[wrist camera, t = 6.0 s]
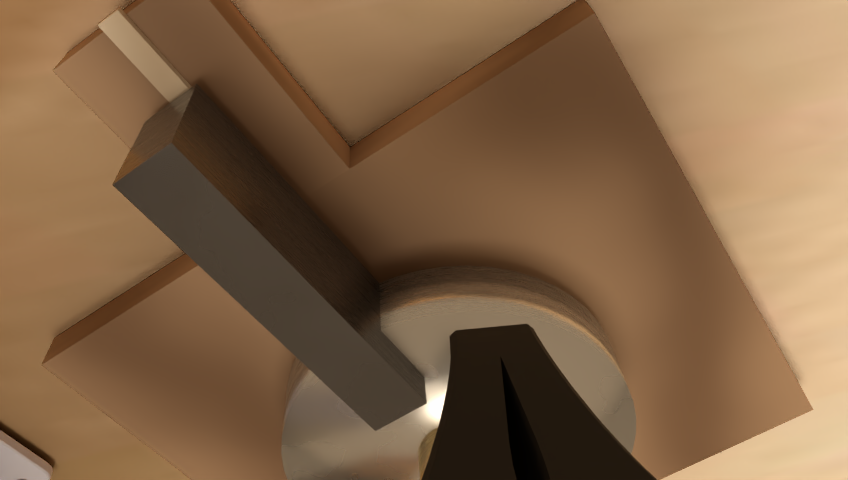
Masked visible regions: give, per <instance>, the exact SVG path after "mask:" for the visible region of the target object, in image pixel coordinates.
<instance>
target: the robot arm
mask: <svg viewBox="0 0 848 480" xmlns="http://www.w3.org/2000/svg"><path fill="white" fill-rule="evenodd" d="M449 338H450V355H451V359H450V370H449V377H448V384H447V390H446V395H445V400H444V404H443V409H442V413H441V418H440V422H439V426H438V429H437V433H436V436H435V439H434V443H433V446H432V449H431V453H430V456H429V459H428V462H427V465H426V468H425V471H424V474H423V477H422V479H421V480H657V479H656V478H655V477H654V476H653V475H652V474H651V473H650V472H649V471H647V470H646V469H645V468H644V467H643V466H642V465H641V464H640V463H639V462H638V461H637V460H636V459H635V458H634V457H633V456H632V455H631V454H630V453H629V452H628V451H627V449H626V448H625V447H624V446H623V445H622V444H621V443H620V442H619V441H618V440H617V439H616V438H615V437H614V435H613V434H612V433H611V432H610V431H609V430H608V429H607V428H606V427H605V425H604V424H603V423H602V422H601V421H600V420H599V419H598V417H597V416H596V415H595V414H594V413H593V411H592V410H591V409H590V408H589V406H588V405H587V404H586V403H585V401H584V400H583V399H582V398H581V397H580V395H579V394H578V393H577V392H576V390H575V389H574V388H573V386H572V385H571V384H570V383H569V381H568V380H567V379H566V377H565V376H564V374H563V373H562V372H561V370H560V369H559V367H558V366H557V365H556V363H555V362H554V360H553V359H552V357H551V356H550V355H549V353H548V352H547V350H546V348H545V347H544V345H543V344H542V342H541V341H540V339H539V337H538V336H537V334H536V332H535V330H534V329H533V328H532V327H531V326H530V325H528V324H517V325H507V326H496V327H485V328H474V329H464V330H456V331H454V332H453V333H452V334H451V335H450V336H449ZM52 473H53V469H52V466H51V465H50V464H48V463H47V462H46V461H45V460H43V459H42V458H40V457H39V456H37V455H36V454H34V453H33V452H32V451H30V450H29V449H27V448H26V447H24V446H23V445H21V444H20V443H18V442H17V441H16V440H14V439H13V438H11V437H10V436H8V435H7V434H5V433H4V432H3V431H1V430H0V480H50V478H51V476H52Z"/></svg>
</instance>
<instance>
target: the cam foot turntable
mask: <svg viewBox="0 0 848 480" xmlns="http://www.w3.org/2000/svg"><path fill="white" fill-rule="evenodd" d="M113 186H114V187H115V188H116V189H118V190H119V191H120V192H121V193H122V194H123V195H124V196H125V197H126V198H127V199H128V200H129V201H130V202H131V203H132V204H134V205H135V206H136V207H137V208H138V209H139V210H140V211H141V212H142V213H143V214H144V215H145V216H146V217H147V218H148V219H150V220H151V221H152V222H153V223H154V224H155V225H156V226H157V227H158V228H159V229H160V230H161V231H162V232H163V233H164V234H166V235H167V236H168V237H169V238H170V239H171V240H172V241H173V242H174V243H175V244H176V245H177V246H178V247H179V248H180V249H182V250H183V251H184V252H185V253H186V254H187V255H188V256H189V257H190V258H191V259H192V260H193V261H194V262H195V263H196V264H198V265H199V266H200V267H201V268H202V269H203V270H204V271H205V272H206V273H207V274H208V275H209V276H210V277H211V278H212V279H214V280H215V281H216V282H217V283H218V284H219V285H220V286H221V287H222V288H223V289H224V290H225V291H226V292H227V293H228V294H230V295H231V296H232V297H233V298H234V299H235V300H236V301H237V302H238V303H239V304H240V305H241V306H242V307H243V308H244V309H246V310H247V311H248V312H249V313H250V314H251V315H252V316H253V317H254V318H255V319H256V320H257V321H258V322H259V323H260V324H262V325H263V326H264V327H265V328H266V329H267V330H268V331H269V332H270V333H271V334H272V335H273V336H274V337H275V338H276V339H277V340H279V341H280V342H281V343H282V344H283V345H284V346H285V347H286V348H287V349H288V350H289V351H290V352H291V353H292V354H293V355H295V356H296V358H295V361H294V363H293V365H292V368H291V371H290V376H289V380H288V385H287V393H286V403H285V412H284V422H283V431H282V447H281V455H282V461H283V468H284V471H285V474H286V477H287V480H421V479H422V477H423V474H424V471H425V468H426V465H427V462H428V459H429V456H430V453H431V449H432V446H433V443H434V439H435V436H436V433H437V429H438V426H439V422H440V418H441V413H442V409H443V404H444V400H445V395H446V390H447V384H448V377H449V370H450V359H451V355H450V338H449V336H450V335H451V334H452V333H453V332H454V331H456V330H464V329H474V328H485V327H496V326H507V325H517V324H528V325H530V326H531V327H532V328H533V329H534V330H535V332H536V334H537V336H538V337H539V339H540V341H541V342H542V344H543V345H544V347H545V348H546V350H547V352H548V353H549V355H550V356H551V357H552V359H553V360H554V362H555V363H556V365H557V366H558V367H559V369H560V370H561V372H562V373H563V374H564V376H565V377H566V379H567V380H568V381H569V383H570V384H571V385H572V386H573V388H574V389H575V390H576V392H577V393H578V394H579V395H580V397H581V398H582V399H583V400H584V401H585V403H586V404H587V405H588V406H589V408H590V409H591V410H592V411H593V413H594V414H595V415H596V416H597V417H598V419H599V420H600V421H601V422H602V423H603V424H604V425H605V427H606V428H607V429H608V430H609V431H610V432H611V433H612V434H613V435H614V437H615V438H616V439H617V440H618V441H619V442H620V443H621V444H622V445H623V446H624V447H625V448H626V449H627V451H628V452H629V453H630V454H631V453H632V450H633V446H634V441H635V436H636V413H635V408H634V402H633V399H632V397H631V394H630V391H629V389H628V386H627V384H626V381H625V379H624V376H623V373H622V371H621V368H620V366H619V363H618V361H617V358H616V356H615V353H614V351H613V348H612V345H611V343H610V340H609V338H608V336H607V334H606V333H605V331H604V329H603V328H602V326H601V325H600V323H599V322H598V320H597V319H596V318H595V317H594V316H593V315H592V314H591V312H590V311H589V310H588V309H587V308H586V307H584V306H583V305H582V304H581V303H580V302H579V301H577V300H576V299H575V298H574V297H572V296H571V295H569V294H568V293H566V292H564V291H563V290H561V289H559V288H558V287H556V286H554V285H552V284H550V283H547V282H545V281H543V280H541V279H538V278H536V277H533V276H529V275H526V274H523V273H519V272H516V271H511V270H506V269H500V268H494V267H483V266H447V267H438V268H432V269H425V270H419V271H415V272H411V273H408V274H404V275H400V276H396V277H394V278H391V279H389V280H386V281H383V282H381V283H379V282H378V281H377V280H376V279H375V278H374V277H373V275H372V274H371V273H370V272H369V271H368V270H367V269H366V268H365V267H364V266H363V265H362V263H361V262H360V261H359V260H358V259H357V258H356V257H355V256H354V255H353V254H352V253H351V251H350V250H349V249H348V248H347V247H346V246H345V245H344V244H343V243H342V242H341V240H340V239H339V238H338V237H337V236H336V235H335V234H334V233H333V232H332V231H331V230H330V228H329V227H328V226H327V225H326V224H325V223H324V222H323V221H322V220H321V219H320V217H319V216H318V215H317V214H316V213H315V212H314V211H313V210H312V209H311V208H310V207H309V205H308V204H307V203H306V202H305V201H304V200H303V199H302V198H301V197H300V196H299V195H298V193H297V192H296V191H295V190H294V189H293V188H292V187H291V186H290V185H289V184H288V182H287V181H286V180H285V179H284V178H283V177H282V176H281V175H280V174H279V173H278V172H277V170H276V169H275V168H274V167H273V166H272V165H271V164H270V163H269V162H268V161H267V160H266V158H265V157H264V156H263V155H262V154H261V153H260V152H259V151H258V150H257V149H256V147H255V146H254V145H253V144H252V143H251V142H250V141H249V140H248V139H247V138H246V137H245V135H244V134H243V133H242V132H241V131H240V130H239V129H238V128H237V127H236V126H235V124H234V123H233V122H232V121H231V120H230V119H229V118H228V117H227V116H226V115H225V114H224V112H223V111H222V110H221V109H220V108H219V107H218V106H217V105H216V104H215V103H214V102H213V100H212V99H211V98H210V97H209V96H208V95H207V94H206V93H205V92H204V91H203V89H202V88H201V87H200V86H199V85H198V84H195V85H194V86H192V87H191V88H190V89H188V90H187V91H186V92H184V93H183V94H182V95H180V96H179V97H177V98H176V99H175V100H173V101H172V102H171V103H169V104H168V105H167V106H165V107H164V108H162V109H161V110H160V111H158V112H157V113H156V114H154V115H153V116H152V117H150V118H149V119H147V120H146V121H145V123H144V125H143V126H142V128H141V130H140V132H139V134H138V136H137V138H136V140H135V142H134V144H133V146H132V148H131V150H130V152H129V154H128V156H127V157H126V159H125V161H124V163H123V165H122V167H121V169H120V171H119V173H118V175H117V177H116V179H115V181H114V183H113Z"/></svg>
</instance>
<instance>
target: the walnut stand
mask: <svg viewBox="0 0 848 480" xmlns="http://www.w3.org/2000/svg"><path fill="white" fill-rule="evenodd" d="M98 26H99V27H100V28H99V29H98V30H96V31H95V32H94V33H92V34H91V35H90V36H89V37H87V38H86V39H85V40H83V41H82V42H81V43H79V44H78V45H77V46H76V47H74V48H73V49H72V50H70V51H69V52H68V53H67V54H66V55H65V57H64V58H63V59H62V60H61V61H60V62H59V64H58V65H57V66H56V67H55V68H54V70H53V72H54V73H55V74H56V75H57V76H58V77H59V78H60V79H61V80H62V81H63V82H64V83H65V84H66V85H67V86H68V87H69V88H70V89H71V90H72V91H73V92H74V93H75V94H76V95H77V96H78V97H79V98H80V99H81V100H82V101H83V102H84V103H85V104H86V105H87V106H88V107H89V108H90V109H91V110H92V111H93V112H94V113H95V114H96V115H97V116H98V117H99V118H100V119H101V120H102V121H103V122H104V123H105V124H106V125H107V126H108V127H109V128H110V129H111V130H112V131H113V132H114V133H115V134H116V135H117V136H118V137H119V138H120V139H121V140H122V141H123V142H124V143H125V144H126V145H127V146H128V147H129V148H130V149H131V148H132V146H133V144H134V142H135V140H136V138H137V136H138V134H139V132H140V130H141V128H142V126H143V125H144V123H145V121H146V120H147V119H149V118H150V117H152V116H153V115H154V114H156V113H157V112H158V111H160V110H161V109H162V108H164V107H165V106H167V105H168V104H169V103H171V102H172V101H173V100H175V99H176V98H177V97H179V96H180V95H182V94H183V93H184V92H186V91H187V90H188V89H190V88H191V87H192V86H194V85H195V84H198V85H199V86H200V87H201V88H202V89H203V91H204V92H205V93H206V94H207V95H208V96H209V97H210V98H211V99H212V100H213V102H214V103H215V104H216V105H217V106H218V107H219V108H220V109H221V110H222V111H223V112H224V114H225V115H226V116H227V117H228V118H229V119H230V120H231V121H232V122H233V123H234V124H235V126H236V127H237V128H238V129H239V130H240V131H241V132H242V133H243V134H244V135H245V137H246V138H247V139H248V140H249V141H250V142H251V143H252V144H253V145H254V146H255V147H256V149H257V150H258V151H259V152H260V153H261V154H262V155H263V156H264V157H265V158H266V160H267V161H268V162H269V163H270V164H271V165H272V166H273V167H274V168H275V169H276V170H277V172H278V173H279V174H280V175H281V176H282V177H283V178H284V179H285V180H286V181H287V182H288V184H289V185H290V186H291V187H292V188H293V189H294V190H295V191H296V192H297V193H298V195H299V196H300V197H301V198H302V199H303V200H304V201H305V202H306V203H307V204H308V205H309V207H310V208H311V209H312V210H313V211H314V212H315V213H316V214H317V215H318V216H319V217H320V219H321V220H322V221H323V222H324V223H325V224H326V225H327V226H328V227H329V228H330V230H331V231H332V232H333V233H334V234H335V235H336V236H337V237H338V238H339V239H340V240H341V242H342V243H343V244H344V245H345V246H346V247H347V248H348V249H349V250H350V251H351V253H352V254H353V255H354V256H355V257H356V258H357V259H358V260H359V261H360V262H361V263H362V265H363V266H364V267H365V268H366V269H367V270H368V271H369V272H370V273H371V274H372V275H373V277H374V278H375V279H376V280H377V281H378V282H379V283H381V282H383V281H386V280H389V279H391V278H394V277H396V276H400V275H404V274H408V273H411V272H415V271H419V270H425V269H432V268H438V267H447V266H483V267H494V268H500V269H506V270H511V271H516V272H519V273H523V274H526V275H529V276H533V277H536V278H538V279H541V280H543V281H545V282H547V283H550V284H552V285H554V286H556V287H558V288H559V289H561V290H563V291H564V292H566V293H568V294H569V295H571V296H572V297H574V298H575V299H576V300H577V301H579V302H580V303H581V304H582V305H583V306H584V307H586V308H587V309H588V310H589V311H590V312H591V314H592V315H593V316H594V317H595V318H596V319H597V320H598V322H599V323H600V325H601V326H602V328H603V329H604V331H605V333H606V334H607V336H608V338H609V340H610V343H611V345H612V348H613V351H614V353H615V356H616V358H617V361H618V363H619V366H620V368H621V371H622V373H623V376H624V379H625V381H626V384H627V386H628V389H629V391H630V394H631V397H632V399H633V402H634V408H635V413H636V436H635V441H634V446H633V450H632V453H631V455H632V456H633V457H634V458H635V459H636V460H637V461H638V462H639V463H640V464H641V465H642V466H643V467H644V468H645V469H646V470H647V471H649V472H650V473H651V474H652V475H653V476H654V477H655V478H656V479H657V480H660V479H662V478H664V477H667V476H669V475H671V474H673V473H675V472H678V471H680V470H682V469H684V468H686V467H689V466H691V465H693V464H695V463H697V462H700V461H702V460H704V459H706V458H708V457H710V456H713V455H715V454H717V453H719V452H721V451H724V450H726V449H728V448H730V447H732V446H735V445H737V444H739V443H741V442H743V441H746V440H748V439H750V438H752V437H754V436H756V435H759V434H761V433H763V432H765V431H767V430H770V429H772V428H774V427H776V426H778V425H781V424H783V423H785V422H787V421H789V420H792V419H794V418H796V417H798V416H800V415H803V414H805V413H807V412H809V411H811V410H813V408H812V406H811V405H810V403H809V401H808V399H807V397H806V396H805V394H804V392H803V390H802V388H801V386H800V385H799V383H798V381H797V379H796V377H795V376H794V374H793V372H792V370H791V368H790V367H789V365H788V363H787V361H786V359H785V357H784V356H783V354H782V352H781V350H780V348H779V347H778V345H777V343H776V341H775V339H774V337H773V336H772V334H771V332H770V330H769V328H768V327H767V325H766V323H765V321H764V319H763V317H762V316H761V314H760V312H759V310H758V308H757V307H756V305H755V303H754V301H753V299H752V298H751V296H750V294H749V292H748V290H747V288H746V287H745V285H744V283H743V281H742V279H741V278H740V276H739V274H738V272H737V270H736V268H735V267H734V265H733V263H732V261H731V259H730V258H729V256H728V254H727V252H726V250H725V248H724V247H723V245H722V243H721V241H720V239H719V238H718V236H717V234H716V232H715V230H714V229H713V227H712V225H711V223H710V221H709V219H708V218H707V216H706V214H705V212H704V210H703V209H702V207H701V205H700V203H699V201H698V199H697V198H696V196H695V194H694V192H693V190H692V189H691V187H690V185H689V183H688V181H687V179H686V178H685V176H684V174H683V172H682V170H681V169H680V167H679V165H678V163H677V161H676V160H675V158H674V156H673V154H672V152H671V150H670V149H669V147H668V145H667V143H666V141H665V140H664V138H663V136H662V134H661V132H660V130H659V129H658V127H657V125H656V123H655V121H654V120H653V118H652V116H651V114H650V112H649V110H648V109H647V107H646V105H645V103H644V101H643V100H642V98H641V96H640V94H639V92H638V91H637V89H636V87H635V85H634V83H633V81H632V80H631V78H630V76H629V74H628V72H627V71H626V69H625V67H624V65H623V63H622V61H621V60H620V58H619V56H618V54H617V52H616V51H615V49H614V47H613V45H612V43H611V42H610V40H609V38H608V36H607V34H606V32H605V31H604V29H603V27H602V25H601V23H600V22H599V20H598V18H597V16H596V14H595V13H594V11H593V10H592V9H591V7H590V6H589V5H588V3H587V2H586V1H585V0H578V1H576V2H575V3H573V4H572V5H570V6H568V7H567V8H565V9H564V10H562V11H561V12H559V13H558V14H556V15H555V16H553V17H551V18H550V19H548V20H547V21H545V22H544V23H542V24H541V25H539V26H537V27H536V28H534V29H533V30H531V31H530V32H528V33H527V34H525V35H523V36H522V37H520V38H519V39H517V40H516V41H514V42H513V43H511V44H510V45H508V46H506V47H505V48H503V49H502V50H500V51H499V52H497V53H496V54H494V55H492V56H491V57H489V58H488V59H486V60H485V61H483V62H482V63H480V64H479V65H477V66H475V67H474V68H472V69H471V70H469V71H468V72H466V73H465V74H463V75H461V76H460V77H458V78H457V79H455V80H454V81H452V82H451V83H449V84H448V85H446V86H444V87H443V88H441V89H440V90H438V91H437V92H435V93H434V94H432V95H430V96H429V97H427V98H426V99H424V100H423V101H421V102H420V103H418V104H416V105H415V106H413V107H412V108H410V109H409V110H407V111H406V112H404V113H403V114H401V115H399V116H398V117H396V118H395V119H393V120H392V121H390V122H389V123H387V124H385V125H384V126H382V127H381V128H379V129H378V130H376V131H375V132H373V133H372V134H370V135H368V136H367V137H365V138H364V139H362V140H361V141H359V142H358V143H356V144H354V145H353V146H351V147H349V146H348V144H347V143H346V142H345V141H344V140H343V138H342V137H341V136H340V135H339V133H338V132H337V131H336V130H335V129H334V127H333V126H332V125H331V124H330V122H329V121H328V120H327V119H326V117H325V116H324V115H323V114H322V113H321V111H320V110H319V109H318V108H317V106H316V105H315V104H314V103H313V102H312V100H311V99H310V98H309V97H308V95H307V94H306V93H305V92H304V91H303V89H302V88H301V87H300V86H299V84H298V83H297V82H296V81H295V79H294V78H293V77H292V76H291V75H290V73H289V72H288V71H287V70H286V68H285V67H284V66H283V65H282V64H281V62H280V61H279V60H278V59H277V57H276V56H275V55H274V54H273V53H272V51H271V50H270V49H269V48H268V46H267V45H266V44H265V43H264V42H263V40H262V39H261V38H260V37H259V35H258V34H257V33H256V32H255V30H254V29H253V28H252V27H251V26H250V24H249V23H248V22H247V21H246V19H245V18H244V17H243V16H242V15H241V13H240V12H239V11H238V10H237V8H236V7H235V6H234V5H233V4H232V2H231V1H230V0H135V1H134V2H133V3H131V4H130V5H129V6H128V7H126V8H125V9H124V10H122V9H121V8H120V7H119V8H118V9H116V10H115V11H114V12H112V13H111V14H110V15H109V16H107V17H106V18H105V19H103V20H102V21H101V22H100V23H99V24H98ZM295 358H296V356H295V355H293V354H292V353H291V352H290V351H289V350H288V349H287V348H286V347H285V346H284V345H283V344H282V343H281V342H280V341H279V340H277V339H276V338H275V337H274V336H273V335H272V334H271V333H270V332H269V331H268V330H267V329H266V328H265V327H264V326H263V325H262V324H260V323H259V322H258V321H257V320H256V319H255V318H254V317H253V316H252V315H251V314H250V313H249V312H248V311H247V310H246V309H244V308H243V307H242V306H241V305H240V304H239V303H238V302H237V301H236V300H235V299H234V298H233V297H232V296H231V295H230V294H228V293H227V292H226V291H225V290H224V289H223V288H222V287H221V286H220V285H219V284H218V283H217V282H216V281H215V280H214V279H212V278H211V277H210V276H209V275H208V274H207V273H206V272H205V271H204V270H203V269H202V268H201V267H200V266H199V265H198V264H196V263H195V262H194V261H193V260H192V259H191V258H190V257H189V256H188V255H187V254H186V253H185V254H184V255H182V256H181V257H179V258H178V259H176V260H175V261H173V262H171V263H170V264H168V265H167V266H165V267H164V268H162V269H161V270H159V271H158V272H156V273H154V274H153V275H151V276H150V277H148V278H147V279H145V280H144V281H142V282H140V283H139V284H137V285H136V286H134V287H133V288H131V289H130V290H128V291H126V292H125V293H123V294H122V295H120V296H119V297H117V298H116V299H114V300H113V301H111V302H109V303H108V304H106V305H105V306H103V307H102V308H100V309H99V310H97V311H95V312H94V313H92V314H91V315H89V316H88V317H86V318H85V319H83V320H82V321H80V322H78V323H77V324H75V325H74V326H72V327H71V328H69V329H68V330H66V331H64V332H63V333H61V334H60V335H58V336H57V337H55V338H54V340H53V342H52V344H51V346H50V348H49V350H48V352H47V354H46V356H45V359H44V361H43V363H42V366H43V367H44V368H46V369H47V370H48V371H50V372H51V373H52V374H54V375H55V376H56V377H58V378H59V379H60V380H61V381H63V382H64V383H65V384H67V385H68V386H69V387H71V388H72V389H73V390H75V391H76V392H77V393H78V394H80V395H81V396H82V397H84V398H85V399H86V400H88V401H89V402H90V403H92V404H93V405H94V406H96V407H97V408H98V409H99V410H101V411H102V412H103V413H105V414H106V415H107V416H109V417H110V418H111V419H113V420H114V421H115V422H116V423H118V424H119V425H120V426H122V427H123V428H124V429H126V430H127V431H128V432H130V433H131V434H132V435H134V436H135V437H136V438H137V439H139V440H140V441H141V442H143V443H144V444H145V445H147V446H148V447H149V448H151V449H152V450H153V451H154V452H156V453H157V454H158V455H160V456H161V457H162V458H164V459H165V460H166V461H168V462H169V463H170V464H172V465H173V466H174V467H175V468H177V469H178V470H179V471H181V472H182V473H183V474H185V475H186V476H187V477H189V478H190V479H191V480H287V477H286V474H285V471H284V468H283V461H282V455H281V447H282V431H283V422H284V412H285V403H286V393H287V385H288V380H289V376H290V371H291V368H292V365H293V363H294V361H295Z"/></svg>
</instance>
